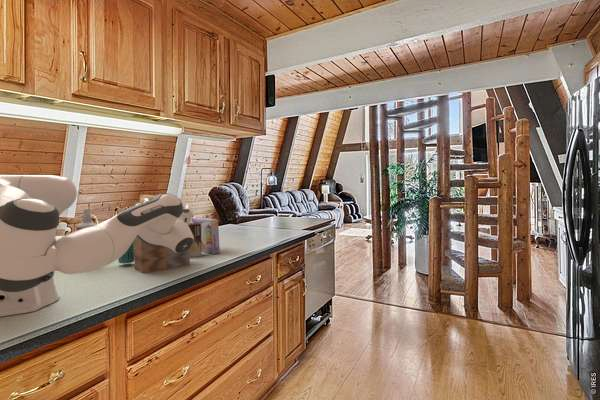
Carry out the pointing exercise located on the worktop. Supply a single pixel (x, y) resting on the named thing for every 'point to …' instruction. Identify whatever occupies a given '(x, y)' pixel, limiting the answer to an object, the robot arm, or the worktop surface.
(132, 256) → the beverage bottle
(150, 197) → the rod
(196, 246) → the coffee box
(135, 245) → the stepped stand
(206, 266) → the worktop surface
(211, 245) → the cake pan box
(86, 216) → the spray bottle
